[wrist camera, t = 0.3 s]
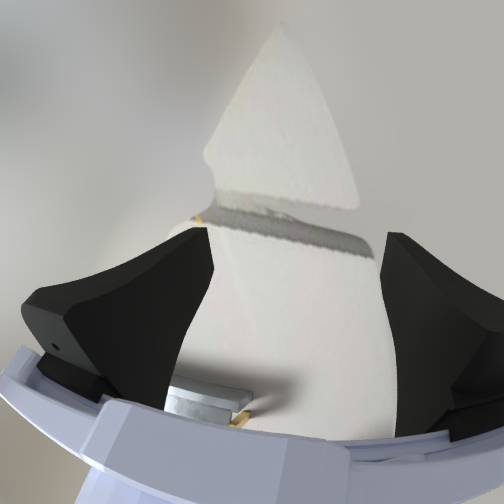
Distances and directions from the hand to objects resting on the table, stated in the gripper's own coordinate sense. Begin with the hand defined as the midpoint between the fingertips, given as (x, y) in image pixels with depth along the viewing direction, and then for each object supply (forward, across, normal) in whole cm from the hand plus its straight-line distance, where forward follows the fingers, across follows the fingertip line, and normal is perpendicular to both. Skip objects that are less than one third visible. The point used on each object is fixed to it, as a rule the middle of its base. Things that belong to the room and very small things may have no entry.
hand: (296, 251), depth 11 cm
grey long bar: (+10, +17, +35) cm, 40 cm away
